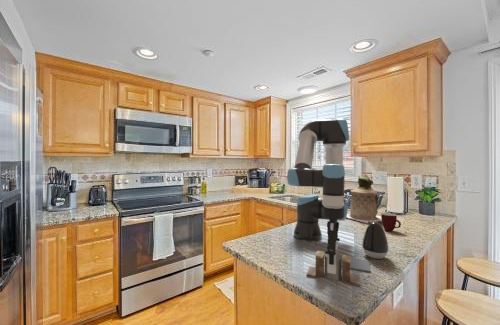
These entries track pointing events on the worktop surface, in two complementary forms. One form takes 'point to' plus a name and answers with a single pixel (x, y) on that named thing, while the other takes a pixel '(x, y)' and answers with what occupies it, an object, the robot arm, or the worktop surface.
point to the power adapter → (338, 267)
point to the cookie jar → (364, 202)
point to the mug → (389, 221)
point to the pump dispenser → (375, 241)
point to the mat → (358, 265)
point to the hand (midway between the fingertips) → (332, 265)
